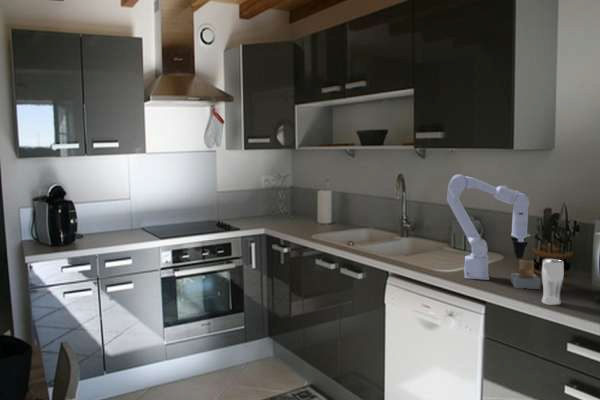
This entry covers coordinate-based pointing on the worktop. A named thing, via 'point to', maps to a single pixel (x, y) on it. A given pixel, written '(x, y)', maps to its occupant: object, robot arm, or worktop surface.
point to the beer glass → (552, 280)
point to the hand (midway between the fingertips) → (518, 256)
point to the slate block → (525, 281)
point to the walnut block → (526, 269)
